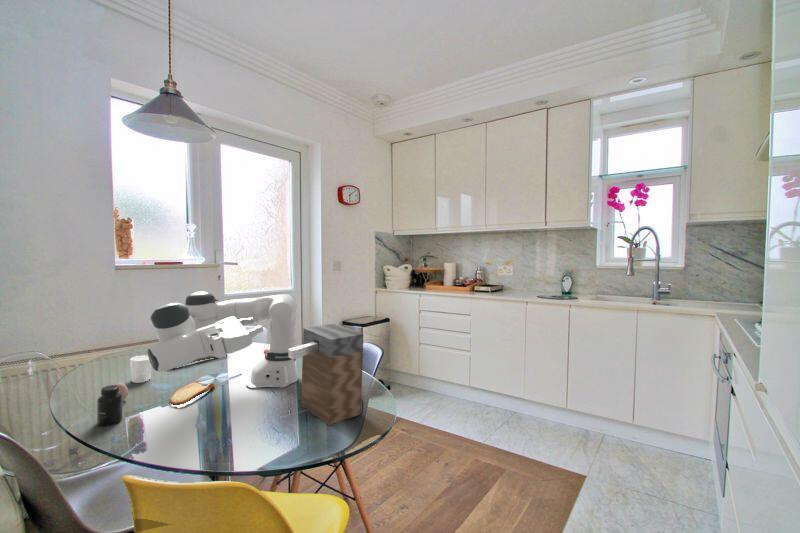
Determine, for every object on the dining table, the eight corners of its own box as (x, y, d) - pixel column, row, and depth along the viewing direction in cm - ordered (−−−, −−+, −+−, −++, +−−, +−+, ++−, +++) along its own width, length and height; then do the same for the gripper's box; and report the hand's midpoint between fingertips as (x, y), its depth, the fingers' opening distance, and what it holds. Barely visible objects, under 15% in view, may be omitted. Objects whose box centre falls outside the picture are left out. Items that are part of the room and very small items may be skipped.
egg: (108, 405, 135) (108, 386, 135) (113, 399, 140) (113, 381, 140) (125, 403, 137) (125, 384, 137) (129, 397, 142) (129, 379, 142)
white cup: (155, 379, 161) (155, 357, 160) (135, 385, 154) (135, 362, 154) (147, 375, 165) (147, 354, 165) (127, 380, 159) (126, 358, 158)
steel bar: (292, 359, 125) (291, 351, 125) (288, 357, 127) (287, 349, 127) (335, 345, 137) (335, 338, 136) (331, 344, 139) (330, 336, 139)
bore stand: (328, 425, 127) (331, 339, 125) (301, 405, 142) (303, 328, 140) (360, 414, 137) (363, 334, 135) (332, 396, 151) (334, 323, 149)
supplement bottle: (94, 428, 119) (94, 392, 118) (100, 419, 125) (99, 385, 125) (120, 424, 122) (120, 389, 122) (124, 415, 128) (124, 382, 128)
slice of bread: (173, 411, 134) (173, 401, 134) (162, 394, 147) (162, 385, 147) (224, 398, 146) (224, 389, 146) (210, 384, 159) (210, 376, 159)
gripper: (208, 337, 119) (251, 323, 127) (221, 361, 103) (269, 342, 111) (203, 320, 117) (247, 306, 125) (216, 341, 101) (265, 324, 109)
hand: (257, 323), depth 118 cm, fingers open, 8 cm apart
